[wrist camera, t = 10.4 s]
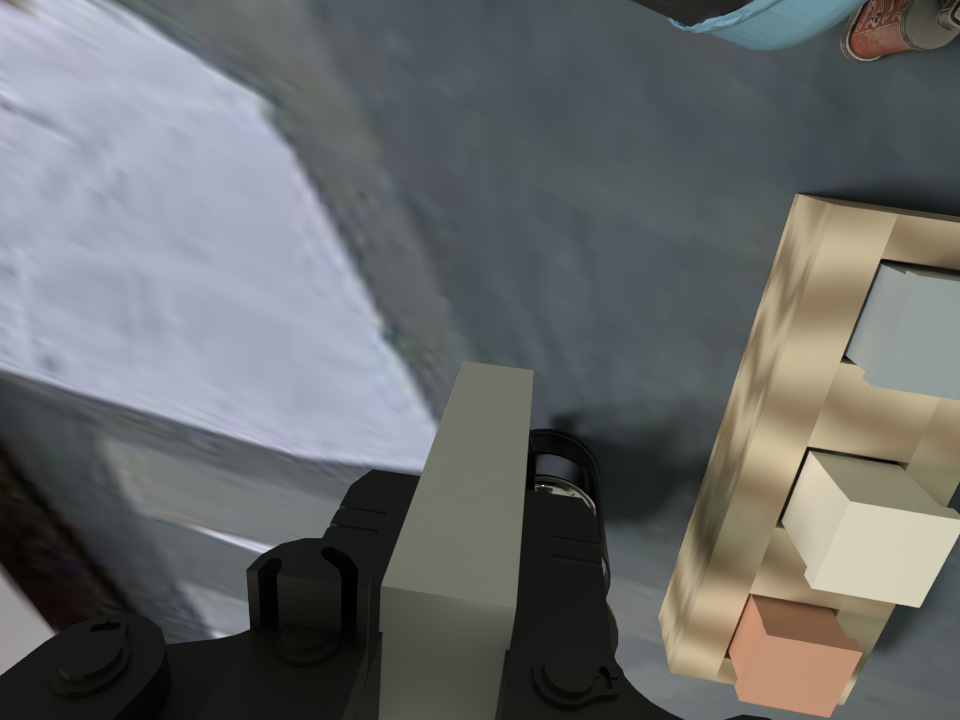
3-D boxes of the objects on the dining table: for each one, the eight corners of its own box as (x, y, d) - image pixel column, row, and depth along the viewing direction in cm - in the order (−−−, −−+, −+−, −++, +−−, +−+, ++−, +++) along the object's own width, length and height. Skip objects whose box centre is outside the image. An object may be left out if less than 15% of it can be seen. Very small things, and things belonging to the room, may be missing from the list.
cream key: (806, 446, 41) (850, 501, 35) (905, 462, 40) (966, 521, 35) (775, 524, 43) (811, 588, 37) (868, 540, 43) (919, 607, 37)
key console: (796, 193, 40) (834, 204, 35) (1010, 224, 40) (1084, 241, 34) (658, 617, 55) (670, 672, 49) (813, 645, 54) (843, 705, 49)
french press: (615, 516, 51) (661, 794, 30) (512, 540, 53) (487, 816, 32) (575, 397, 48) (594, 619, 26) (465, 428, 50) (402, 656, 29)
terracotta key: (740, 571, 48) (766, 634, 42) (824, 586, 48) (862, 652, 42) (717, 632, 50) (739, 700, 44) (796, 647, 50) (829, 717, 44)
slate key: (861, 251, 38) (919, 275, 32) (968, 267, 38) (1046, 294, 32) (825, 347, 40) (872, 386, 35) (925, 363, 40) (989, 405, 34)
